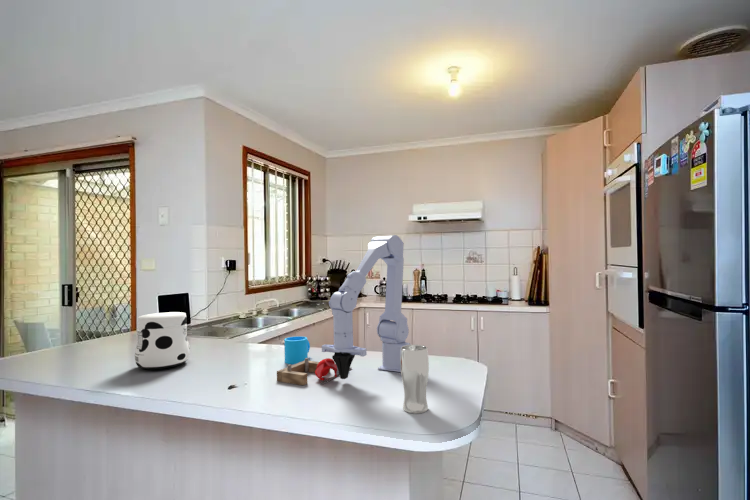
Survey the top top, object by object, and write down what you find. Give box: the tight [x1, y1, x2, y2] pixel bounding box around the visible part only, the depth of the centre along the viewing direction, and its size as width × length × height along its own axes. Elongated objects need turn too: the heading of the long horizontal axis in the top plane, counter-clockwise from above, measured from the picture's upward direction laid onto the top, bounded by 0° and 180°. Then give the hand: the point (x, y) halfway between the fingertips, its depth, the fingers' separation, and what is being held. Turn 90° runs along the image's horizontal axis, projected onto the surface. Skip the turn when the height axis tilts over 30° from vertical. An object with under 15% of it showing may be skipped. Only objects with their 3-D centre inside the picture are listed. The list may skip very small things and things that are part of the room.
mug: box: [283, 335, 311, 365], centre depth 148 cm, size 12×8×8 cm
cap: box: [314, 357, 338, 381], centre depth 124 cm, size 8×6×6 cm
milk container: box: [134, 311, 191, 370], centre depth 144 cm, size 17×17×18 cm
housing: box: [276, 358, 352, 386], centre depth 129 cm, size 14×20×4 cm
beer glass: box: [400, 344, 430, 415], centre depth 99 cm, size 7×7×15 cm
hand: (344, 378), depth 120 cm, fingers closed
